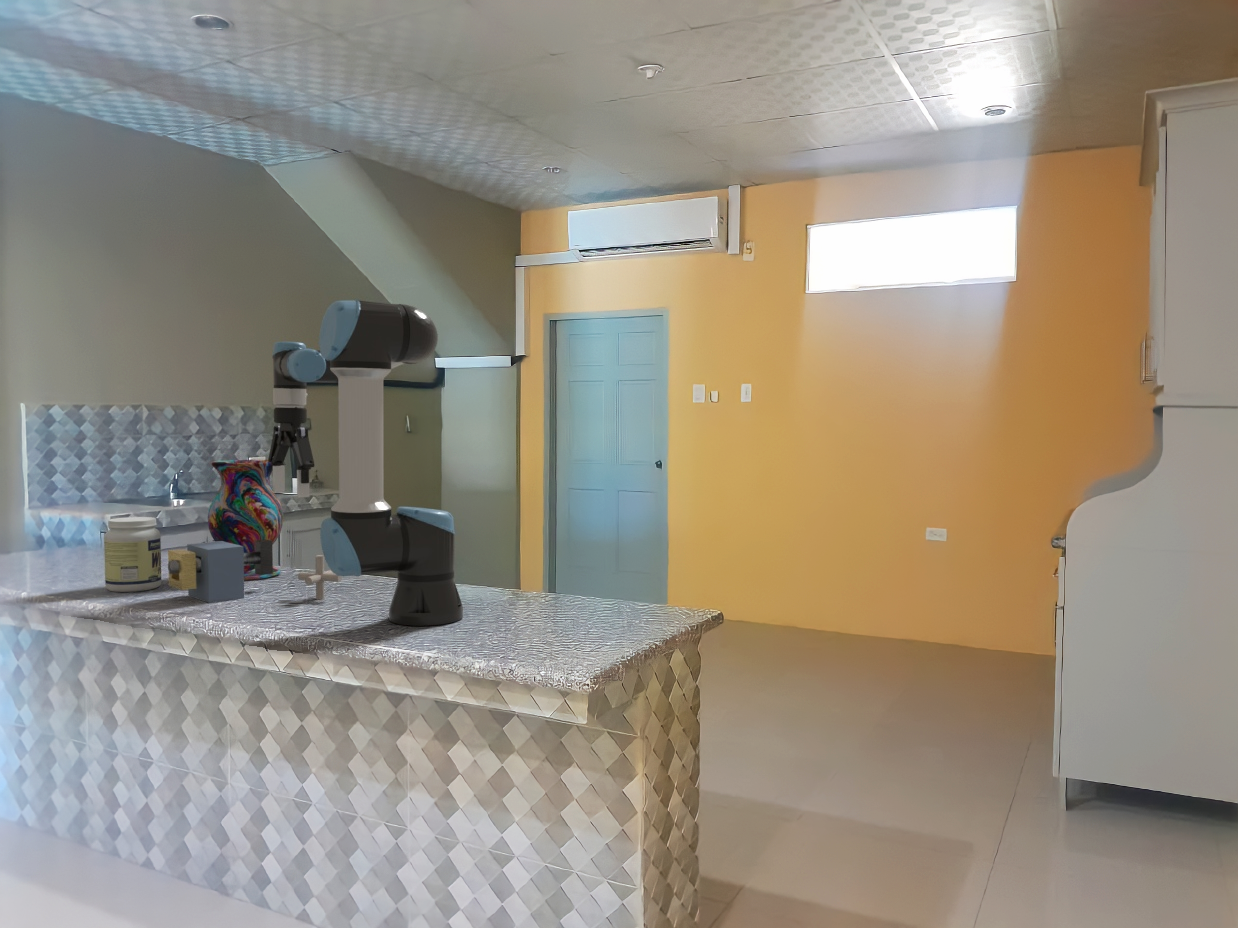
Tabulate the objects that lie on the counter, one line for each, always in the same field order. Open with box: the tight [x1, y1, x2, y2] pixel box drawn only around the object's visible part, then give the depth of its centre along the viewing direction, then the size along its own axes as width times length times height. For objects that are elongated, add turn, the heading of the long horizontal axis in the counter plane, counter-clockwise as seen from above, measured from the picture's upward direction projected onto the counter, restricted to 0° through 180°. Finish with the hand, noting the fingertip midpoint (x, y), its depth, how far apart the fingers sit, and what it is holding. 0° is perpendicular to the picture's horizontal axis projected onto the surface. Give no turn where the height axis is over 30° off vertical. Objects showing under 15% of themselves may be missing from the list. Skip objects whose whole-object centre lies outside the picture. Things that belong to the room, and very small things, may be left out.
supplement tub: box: [103, 516, 162, 593], centre depth 226 cm, size 12×12×17 cm
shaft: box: [167, 539, 274, 575], centre depth 217 cm, size 3×23×8 cm, turn 135°
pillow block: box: [186, 541, 245, 604], centre depth 216 cm, size 12×8×12 cm, turn 46°
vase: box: [207, 459, 284, 581], centre depth 243 cm, size 18×18×30 cm
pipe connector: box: [297, 554, 343, 601], centre depth 215 cm, size 10×10×10 cm
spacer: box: [167, 548, 196, 591], centre depth 211 cm, size 8×3×8 cm, turn 46°
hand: (290, 494), depth 226 cm, fingers open, 13 cm apart
